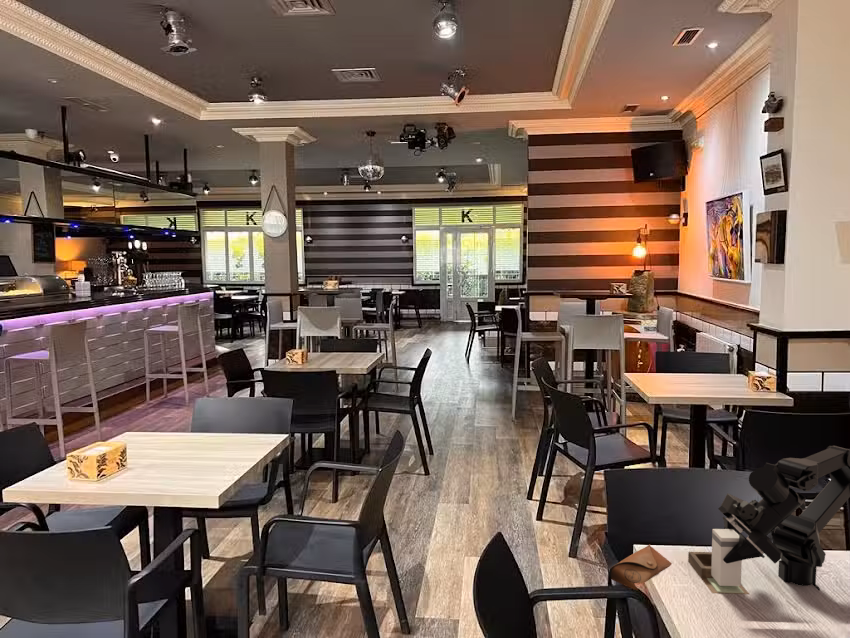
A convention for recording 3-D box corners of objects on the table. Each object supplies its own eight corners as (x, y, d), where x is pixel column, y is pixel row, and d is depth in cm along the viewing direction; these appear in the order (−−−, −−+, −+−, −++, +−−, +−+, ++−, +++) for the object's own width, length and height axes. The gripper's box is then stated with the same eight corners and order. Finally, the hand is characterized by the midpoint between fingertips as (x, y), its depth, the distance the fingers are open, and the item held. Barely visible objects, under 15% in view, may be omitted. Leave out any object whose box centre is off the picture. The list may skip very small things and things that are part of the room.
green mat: (732, 579, 135) (732, 578, 135) (743, 593, 129) (743, 592, 129) (707, 579, 135) (707, 578, 135) (717, 592, 130) (717, 591, 130)
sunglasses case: (641, 592, 132) (628, 562, 134) (617, 597, 136) (604, 567, 139) (679, 565, 143) (666, 538, 146) (655, 570, 148) (643, 544, 150)
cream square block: (731, 575, 134) (732, 528, 134) (741, 586, 130) (742, 538, 129) (710, 574, 135) (712, 528, 134) (719, 585, 130) (721, 538, 129)
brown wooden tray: (721, 566, 143) (722, 552, 143) (749, 598, 129) (750, 583, 129) (688, 565, 144) (688, 551, 143) (712, 597, 130) (712, 582, 129)
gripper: (728, 469, 139) (679, 514, 141) (769, 501, 121) (712, 551, 123) (761, 502, 140) (712, 546, 141) (807, 538, 121) (749, 588, 123)
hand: (719, 556), depth 132 cm, fingers closed on cream square block, 4 cm apart
